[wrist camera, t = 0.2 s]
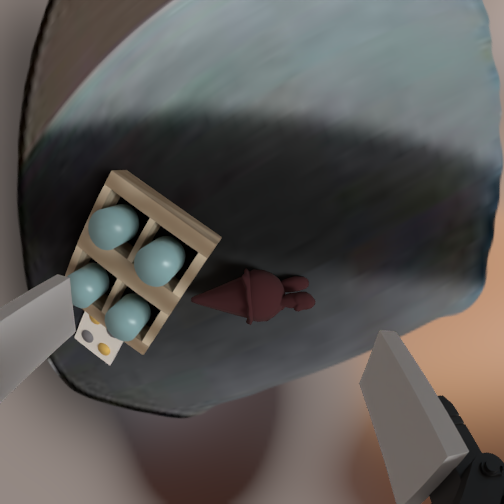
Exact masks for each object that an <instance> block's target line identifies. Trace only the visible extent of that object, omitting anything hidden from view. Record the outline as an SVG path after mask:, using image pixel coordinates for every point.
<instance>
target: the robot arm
mask: <svg viewBox="0 0 504 504" xmlns="http://www.w3.org/2000/svg"><path fill="white" fill-rule="evenodd" d="M75 332H76V329H75V322H74V314H73V305H72V295H71V284H70V277H66V276H62V275H58V274H57V275H56V276H54V277H52V278H50V279H48V280H47V281H45V282H43V283H41V284H40V285H38V286H36V287H34V288H33V289H31V290H29V291H28V292H26V293H24V294H22V295H21V296H20V297H17V298H16V299H14V300H12V301H11V302H9V303H7V304H6V305H4V306H2V307H1V308H0V403H1V402H2V401H3V400H4V399H5V398H6V397H7V396H8V395H9V394H10V393H11V392H12V391H13V390H14V389H15V388H16V387H17V386H18V385H19V384H20V383H21V382H22V381H23V380H24V379H25V378H26V377H28V376H29V375H30V374H31V373H32V372H33V371H34V370H35V369H36V368H37V367H38V366H39V365H40V364H41V363H42V362H43V361H44V360H45V359H46V358H48V357H49V356H50V355H51V354H52V353H53V352H54V351H55V350H56V349H57V348H58V347H59V346H61V345H62V344H63V343H64V342H65V341H66V340H67V339H68V338H69V337H70V336H72V335H73V334H74V333H75ZM359 384H360V387H361V390H362V393H363V396H364V399H365V402H366V405H367V408H368V411H369V413H370V417H371V420H372V423H373V425H374V429H375V432H376V435H377V438H378V442H379V445H380V448H381V451H382V455H383V458H384V461H385V465H386V468H387V472H388V475H389V479H390V482H391V486H392V489H393V493H394V496H395V500H396V504H421V503H422V502H423V501H424V500H425V499H426V498H427V497H428V496H430V499H431V502H432V503H431V504H504V463H503V462H502V460H501V459H500V458H499V457H497V456H496V455H494V454H491V453H482V452H481V451H480V449H479V447H478V445H477V444H476V442H475V440H474V439H473V437H472V435H471V433H470V432H469V430H468V428H467V427H466V425H464V424H463V423H464V422H463V420H462V418H461V417H460V416H459V414H458V412H457V410H456V409H455V407H454V406H453V404H452V403H451V402H450V401H448V400H447V399H446V398H445V397H444V396H437V395H436V393H435V391H434V390H433V388H432V386H431V385H430V384H429V382H428V380H427V378H426V377H425V375H424V374H423V372H422V371H421V369H420V368H419V366H418V364H417V363H416V361H415V360H414V358H413V357H412V355H411V354H410V352H409V351H408V349H407V348H406V346H405V345H404V343H403V342H402V340H401V339H400V337H399V336H398V334H397V333H396V331H385V330H379V333H378V335H377V338H376V341H375V344H374V347H373V349H372V352H371V355H370V358H369V360H368V363H367V366H366V368H365V371H364V373H363V376H362V379H361V381H360V383H359Z"/></svg>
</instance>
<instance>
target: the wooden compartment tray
mask: <svg viewBox="0 0 504 504" xmlns="http://www.w3.org/2000/svg"><path fill="white" fill-rule="evenodd" d="M120 196H121V197H122V198H124V199H125V200H126V201H128V202H129V203H130V204H132V205H133V206H134V207H136V208H137V209H139V210H140V211H141V212H143V213H144V214H145V215H147V216H148V217H150V218H149V220H148V222H147V224H146V225H145V227H144V229H143V231H142V233H141V234H140V236H139V238H138V240H137V242H136V243H135V245H134V247H133V246H132V245H131V244H129V243H128V242H125V243H123V244H121V245H119V246H118V247H116V248H114V249H112V250H102V249H100V248H98V247H97V246H96V245H95V244H94V243H93V242H92V240H91V238H90V235H89V231H88V225H89V220H90V218H91V216H92V215H93V214H94V213H95V212H96V211H98V210H100V209H104V208H107V207H111V206H115V205H116V204H117V202H118V200H119V198H120ZM160 226H162V227H163V228H165V229H166V230H168V231H169V232H170V233H172V234H173V235H175V236H176V237H177V238H179V239H180V240H182V241H183V242H184V243H186V244H187V245H189V246H190V247H191V248H193V249H194V250H196V251H197V252H199V253H198V254H197V256H196V257H195V259H194V260H193V262H192V263H191V265H190V266H189V268H188V269H187V271H186V272H185V274H184V275H183V277H182V279H181V280H178V279H177V278H176V277H174V276H173V277H172V279H171V280H170V281H169V282H168V283H167V284H165V285H163V286H160V287H153V286H149V285H147V284H145V283H144V282H143V281H142V280H141V279H140V278H139V277H138V275H137V274H136V271H135V268H134V259H135V256H136V254H137V252H138V251H139V250H140V249H141V248H143V247H144V246H146V245H148V244H149V243H151V242H152V240H153V238H154V236H155V235H156V233H157V231H158V230H159V228H160ZM221 238H222V237H221V236H219V235H218V234H216V233H215V232H214V231H212V230H211V229H209V228H208V227H206V226H205V225H204V224H202V223H201V222H199V221H198V220H196V219H195V218H194V217H192V216H191V215H189V214H188V213H186V212H185V211H184V210H182V209H181V208H179V207H178V206H177V205H175V204H174V203H172V202H171V201H169V200H168V199H167V198H165V197H164V196H162V195H161V194H159V193H158V192H157V191H155V190H154V189H152V188H151V187H150V186H148V185H147V184H145V183H144V182H142V181H141V180H140V179H138V178H137V177H135V176H134V175H133V174H131V173H130V172H128V171H127V170H112V171H111V173H110V175H109V177H108V178H107V180H106V182H105V184H104V186H103V188H102V190H101V192H100V194H99V196H98V198H97V200H96V203H95V205H94V207H93V209H92V211H91V213H90V215H89V218H88V220H87V222H86V224H85V227H84V229H83V231H82V233H81V236H80V238H79V241H78V243H77V245H76V248H75V250H74V253H73V256H72V258H71V261H70V263H69V266H68V269H67V271H66V274H65V276H66V277H67V276H68V275H70V274H71V273H73V272H75V271H77V270H78V269H80V268H82V267H84V266H85V265H87V264H88V263H89V261H90V259H91V258H93V259H94V260H95V261H96V262H97V263H99V264H100V265H101V266H102V267H104V268H105V269H106V270H107V271H109V272H110V273H111V274H113V275H114V276H115V277H116V278H117V280H116V282H115V284H114V286H113V288H112V290H111V292H110V294H109V296H107V295H106V294H103V295H102V296H101V297H100V298H98V299H97V300H96V301H95V302H93V303H92V304H91V305H90V306H88V307H86V308H82V309H83V310H84V311H85V312H87V313H88V314H89V315H90V316H92V317H93V318H94V319H95V320H97V321H98V322H99V323H100V324H102V325H103V326H104V327H105V328H107V327H106V325H105V314H106V313H107V311H108V310H109V309H110V308H111V307H113V306H114V305H115V304H116V303H117V302H118V301H119V300H120V298H121V296H122V295H123V293H124V291H125V289H126V287H127V286H128V287H130V288H131V289H132V290H134V291H135V292H136V293H138V294H139V295H140V296H142V297H143V298H144V299H146V300H147V301H148V302H150V303H151V304H153V305H154V306H155V307H157V308H158V309H160V310H161V311H160V313H159V315H158V316H157V318H156V319H155V321H154V323H153V324H152V326H151V327H149V326H147V325H146V324H145V326H144V327H143V328H142V329H141V331H140V332H139V333H138V334H137V336H136V337H135V338H134V339H133V340H131V341H124V342H125V343H127V344H128V345H130V346H131V347H132V348H134V349H135V350H137V351H138V352H140V353H141V354H142V355H144V353H145V352H146V350H147V349H148V347H149V346H150V344H151V343H152V342H153V340H154V338H155V337H156V335H157V334H158V332H159V331H160V329H161V328H162V326H163V325H164V323H165V321H166V320H167V318H168V317H169V315H170V314H171V312H172V311H173V309H174V308H175V306H176V305H177V303H178V302H179V300H180V299H181V297H182V296H183V294H184V293H185V291H186V290H187V288H188V287H189V285H190V284H191V282H192V281H193V279H194V278H195V276H196V275H197V273H198V272H199V270H200V269H201V267H202V266H203V264H204V263H205V262H206V260H207V259H208V257H209V256H210V254H211V253H212V251H213V250H214V248H215V247H216V245H217V244H218V243H219V241H220V240H221Z"/></svg>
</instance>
